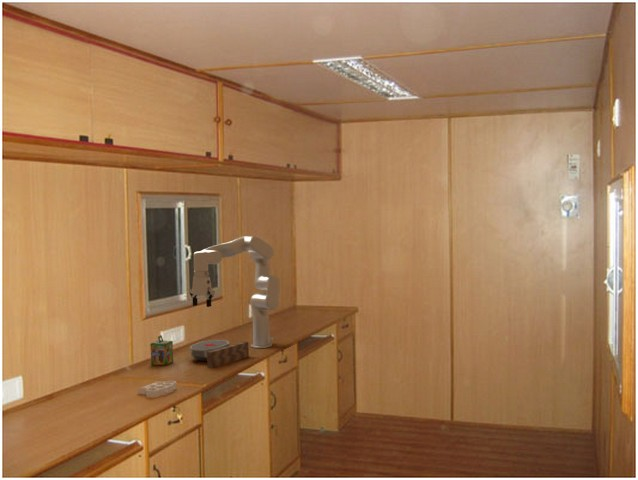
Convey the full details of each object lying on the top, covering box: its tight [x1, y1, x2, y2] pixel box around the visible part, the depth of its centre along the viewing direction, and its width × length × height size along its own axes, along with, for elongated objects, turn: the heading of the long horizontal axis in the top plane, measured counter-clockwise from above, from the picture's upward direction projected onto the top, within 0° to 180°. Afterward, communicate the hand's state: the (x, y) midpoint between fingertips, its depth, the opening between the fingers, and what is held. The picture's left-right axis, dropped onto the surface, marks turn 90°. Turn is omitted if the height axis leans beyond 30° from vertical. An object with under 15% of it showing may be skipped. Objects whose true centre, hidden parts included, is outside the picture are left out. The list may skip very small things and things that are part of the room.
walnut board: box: [207, 341, 250, 369], centre depth 367 cm, size 30×3×8 cm, turn 147°
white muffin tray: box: [137, 380, 178, 398], centre depth 310 cm, size 3×18×15 cm
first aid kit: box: [189, 339, 230, 362], centre depth 377 cm, size 18×8×25 cm
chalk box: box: [149, 334, 174, 366], centre depth 366 cm, size 9×9×15 cm
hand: (202, 306), depth 370 cm, fingers open, 9 cm apart
